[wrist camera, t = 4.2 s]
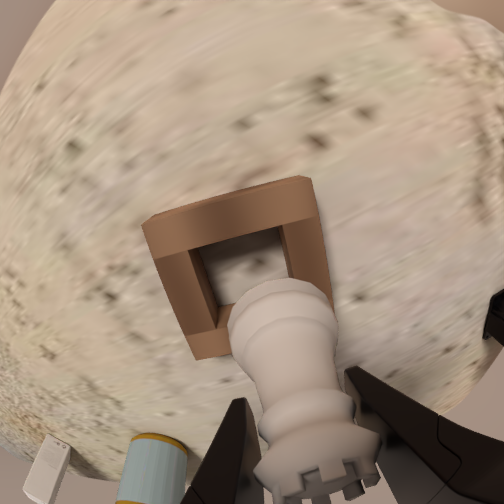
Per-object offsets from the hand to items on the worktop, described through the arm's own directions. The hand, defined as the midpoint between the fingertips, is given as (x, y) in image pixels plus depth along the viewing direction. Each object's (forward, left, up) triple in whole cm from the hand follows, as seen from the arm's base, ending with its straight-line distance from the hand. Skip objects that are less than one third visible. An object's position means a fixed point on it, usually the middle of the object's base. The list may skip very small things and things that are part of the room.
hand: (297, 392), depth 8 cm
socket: (+1, 0, -13) cm, 13 cm away
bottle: (+17, +20, -13) cm, 29 cm away
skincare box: (+37, +22, -13) cm, 45 cm away
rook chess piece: (0, 0, -5) cm, 5 cm away
